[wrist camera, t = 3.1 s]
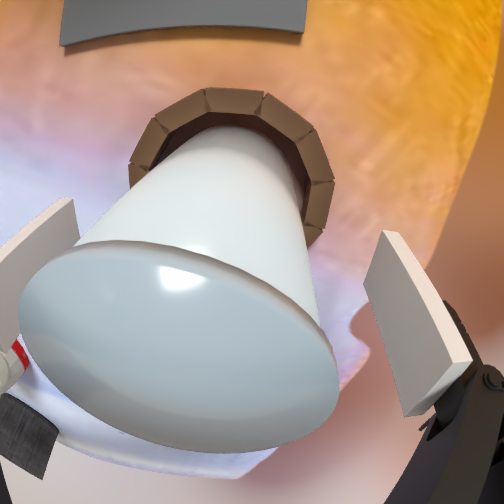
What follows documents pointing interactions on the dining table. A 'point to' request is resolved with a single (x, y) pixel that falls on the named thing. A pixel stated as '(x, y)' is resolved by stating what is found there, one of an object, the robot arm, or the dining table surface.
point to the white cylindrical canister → (191, 305)
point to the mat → (175, 16)
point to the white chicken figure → (12, 366)
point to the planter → (25, 436)
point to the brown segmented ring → (252, 104)
